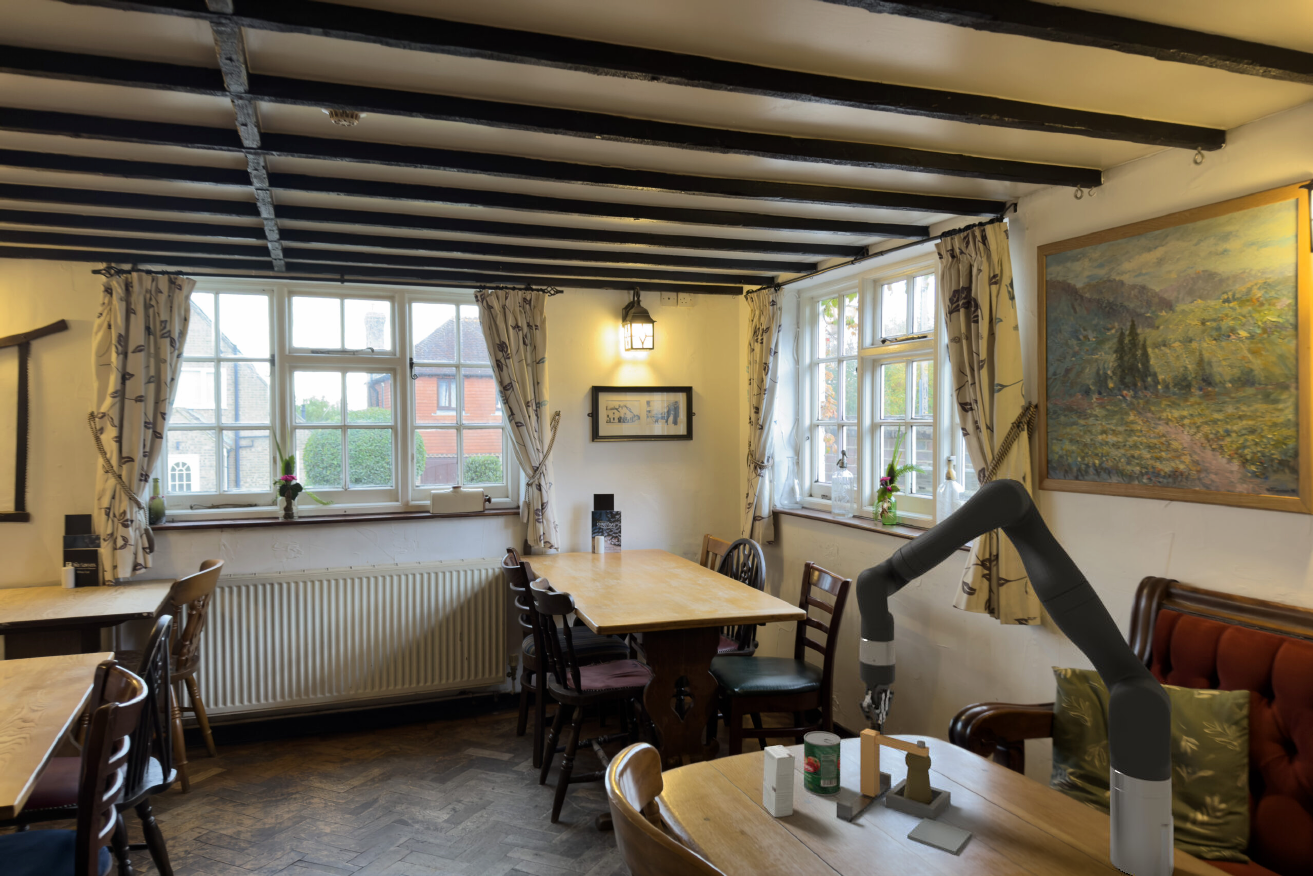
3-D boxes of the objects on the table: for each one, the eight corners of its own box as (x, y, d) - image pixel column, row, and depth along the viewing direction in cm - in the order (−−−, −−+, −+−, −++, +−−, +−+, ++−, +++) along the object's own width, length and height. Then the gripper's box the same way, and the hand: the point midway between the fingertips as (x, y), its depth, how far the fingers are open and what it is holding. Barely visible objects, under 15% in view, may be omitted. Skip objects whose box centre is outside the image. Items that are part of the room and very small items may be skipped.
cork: (935, 813, 153) (935, 759, 153) (904, 810, 154) (904, 757, 154) (930, 800, 159) (931, 748, 159) (901, 797, 160) (901, 745, 160)
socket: (950, 804, 157) (950, 792, 157) (933, 822, 150) (933, 809, 150) (904, 790, 164) (904, 778, 164) (885, 806, 156) (885, 794, 156)
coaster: (971, 835, 144) (971, 832, 144) (955, 855, 137) (955, 851, 137) (924, 820, 150) (924, 817, 150) (907, 838, 143) (907, 835, 143)
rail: (891, 788, 164) (891, 774, 165) (850, 822, 149) (850, 807, 149) (878, 784, 166) (878, 770, 166) (836, 817, 151) (836, 802, 151)
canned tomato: (796, 786, 165) (796, 736, 165) (819, 777, 170) (819, 728, 170) (824, 800, 159) (824, 747, 159) (848, 790, 164) (848, 739, 164)
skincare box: (761, 804, 156) (762, 746, 157) (781, 802, 158) (781, 744, 158) (775, 818, 151) (775, 758, 151) (795, 815, 152) (795, 755, 152)
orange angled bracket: (930, 808, 153) (930, 741, 153) (924, 813, 151) (924, 746, 151) (866, 788, 162) (866, 725, 162) (860, 792, 160) (860, 729, 160)
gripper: (880, 669, 155) (880, 753, 155) (906, 655, 165) (906, 734, 165) (847, 662, 160) (847, 743, 160) (874, 649, 170) (874, 726, 170)
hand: (877, 739), depth 163 cm, fingers closed
